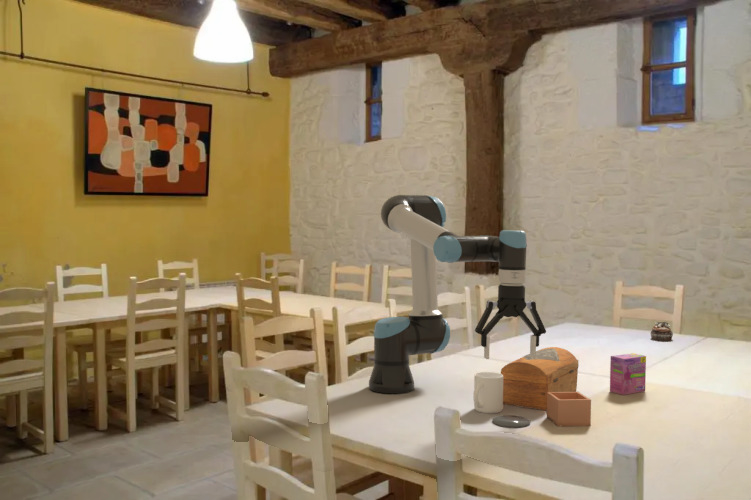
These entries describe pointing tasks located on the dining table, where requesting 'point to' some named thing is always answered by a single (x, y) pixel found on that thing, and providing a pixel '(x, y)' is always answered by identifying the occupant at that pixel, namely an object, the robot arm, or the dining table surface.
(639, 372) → the box
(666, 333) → the cupcake
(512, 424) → the slate coaster
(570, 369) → the wooden box
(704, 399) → the dining table surface
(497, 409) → the mug
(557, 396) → the planter
